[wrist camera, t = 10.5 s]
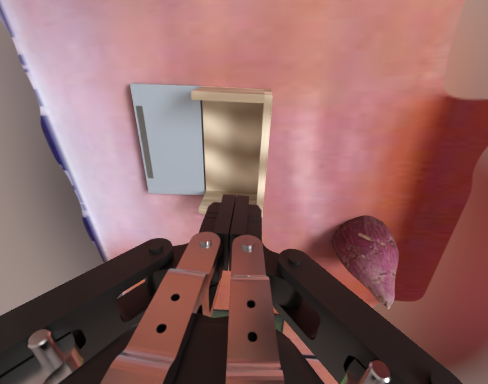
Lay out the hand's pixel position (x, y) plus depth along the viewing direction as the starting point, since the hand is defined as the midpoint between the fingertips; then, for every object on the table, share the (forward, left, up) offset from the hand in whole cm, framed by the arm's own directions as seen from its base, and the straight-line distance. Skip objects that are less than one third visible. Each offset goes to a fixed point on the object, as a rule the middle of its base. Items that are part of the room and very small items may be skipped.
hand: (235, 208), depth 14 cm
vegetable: (+22, +22, -27) cm, 41 cm away
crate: (+5, -3, -27) cm, 27 cm away
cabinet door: (+5, -8, -26) cm, 27 cm away
